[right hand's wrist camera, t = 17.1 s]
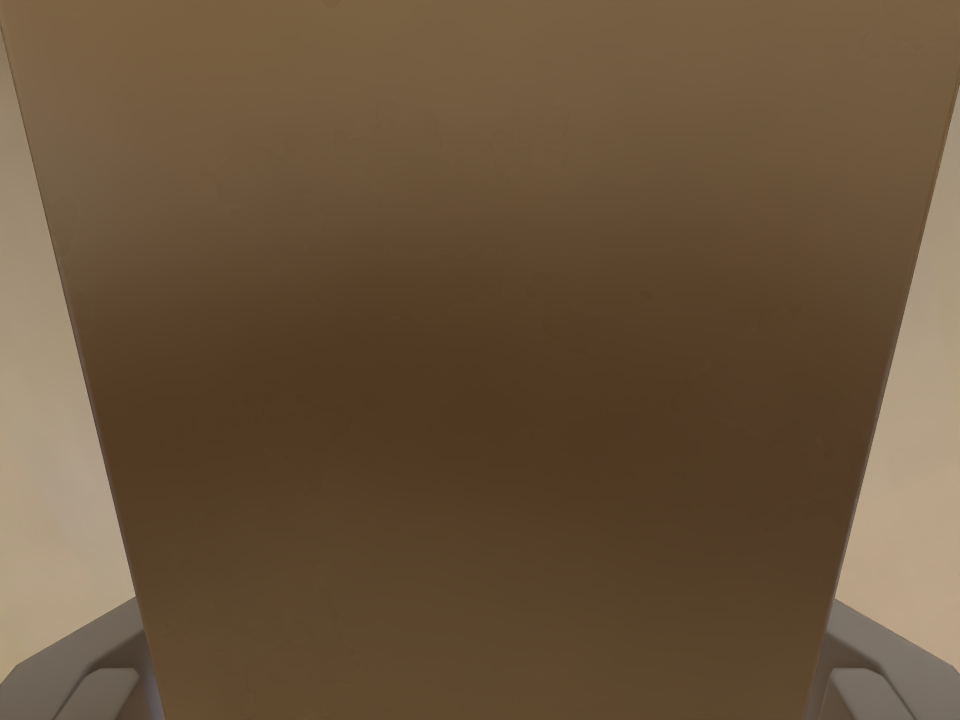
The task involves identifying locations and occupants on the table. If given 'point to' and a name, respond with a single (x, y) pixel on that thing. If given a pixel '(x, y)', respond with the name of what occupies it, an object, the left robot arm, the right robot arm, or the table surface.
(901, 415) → the table surface
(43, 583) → the table surface
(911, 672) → the right robot arm
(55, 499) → the table surface
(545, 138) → the bar
